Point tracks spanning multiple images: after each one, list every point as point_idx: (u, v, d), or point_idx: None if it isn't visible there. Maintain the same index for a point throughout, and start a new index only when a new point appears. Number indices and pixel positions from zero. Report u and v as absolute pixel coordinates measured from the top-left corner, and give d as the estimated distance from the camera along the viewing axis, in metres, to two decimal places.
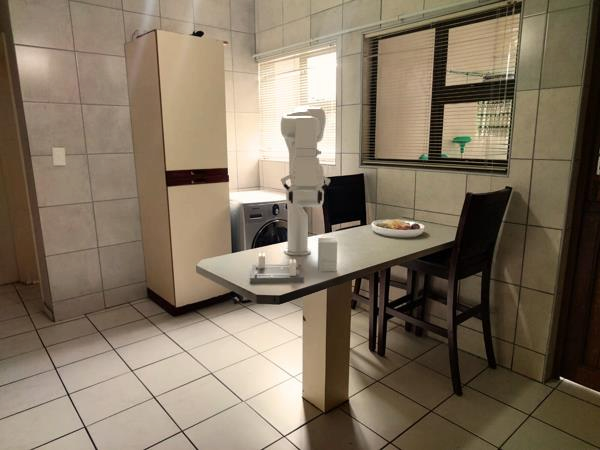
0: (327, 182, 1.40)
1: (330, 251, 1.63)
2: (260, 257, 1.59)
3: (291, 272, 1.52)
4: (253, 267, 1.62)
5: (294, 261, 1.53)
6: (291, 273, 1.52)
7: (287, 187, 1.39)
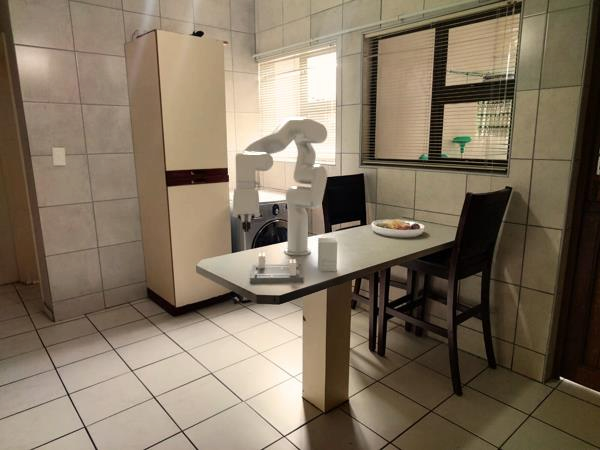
0: (256, 215, 1.57)
1: (330, 251, 1.63)
2: (260, 257, 1.59)
3: (291, 272, 1.52)
4: (253, 267, 1.62)
5: (294, 261, 1.53)
6: (291, 273, 1.52)
7: (241, 218, 1.57)
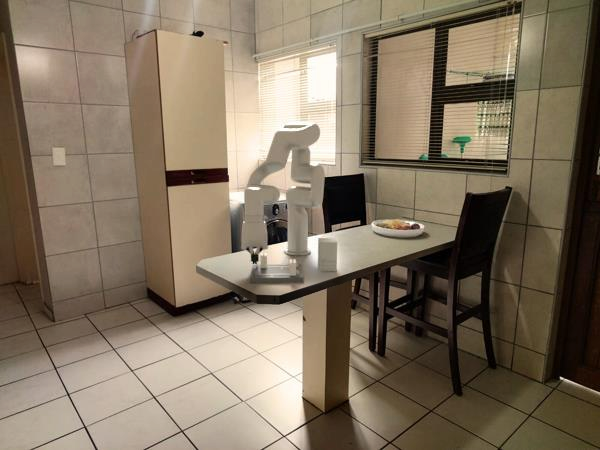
0: (264, 248, 1.60)
1: (330, 251, 1.63)
2: (262, 257, 1.59)
3: (291, 272, 1.52)
4: (253, 267, 1.62)
5: (294, 261, 1.53)
6: (291, 273, 1.52)
7: (249, 250, 1.60)
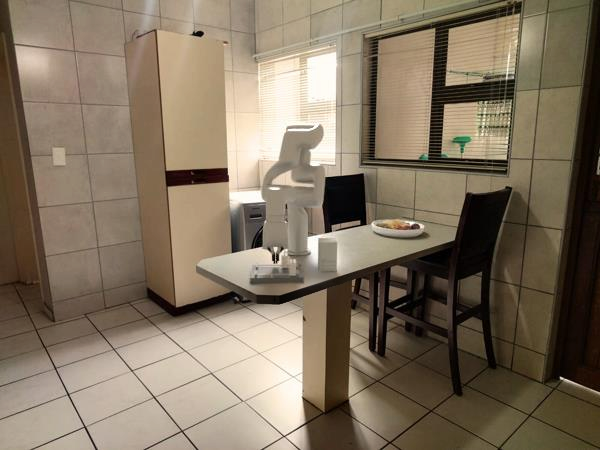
0: (285, 247, 1.61)
1: (330, 251, 1.63)
2: (283, 257, 1.60)
3: (291, 272, 1.52)
4: (253, 267, 1.62)
5: (294, 261, 1.53)
6: (291, 273, 1.52)
7: (270, 250, 1.61)
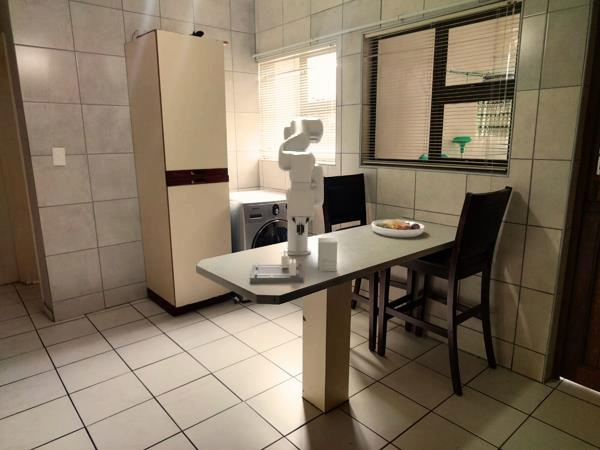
0: (311, 218, 1.51)
1: (330, 251, 1.63)
2: (283, 257, 1.60)
3: (291, 272, 1.52)
4: (253, 267, 1.62)
5: (294, 261, 1.53)
6: (291, 273, 1.52)
7: (295, 220, 1.51)
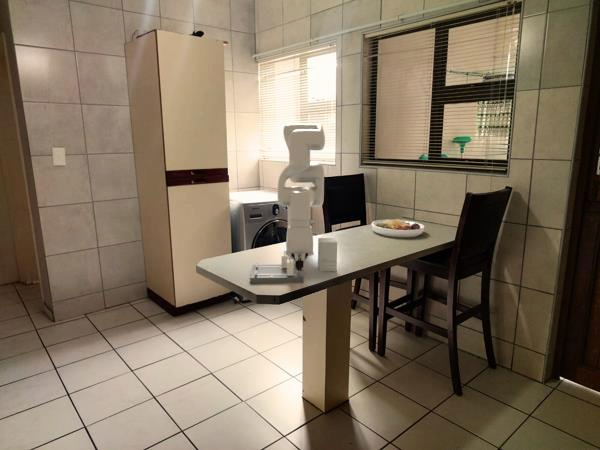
0: (310, 254, 1.53)
1: (330, 251, 1.63)
2: (283, 257, 1.60)
3: (288, 272, 1.52)
4: (253, 267, 1.62)
5: (291, 261, 1.53)
6: (288, 273, 1.52)
7: (294, 256, 1.52)
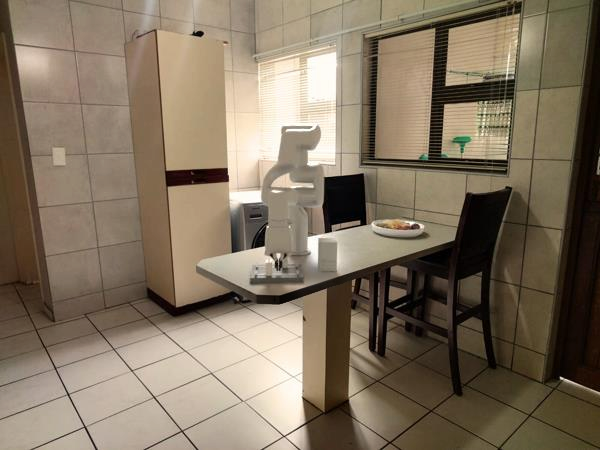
0: (288, 254, 1.52)
1: (330, 251, 1.63)
2: None
3: (267, 272, 1.51)
4: (253, 267, 1.62)
5: (270, 261, 1.52)
6: (267, 273, 1.51)
7: None
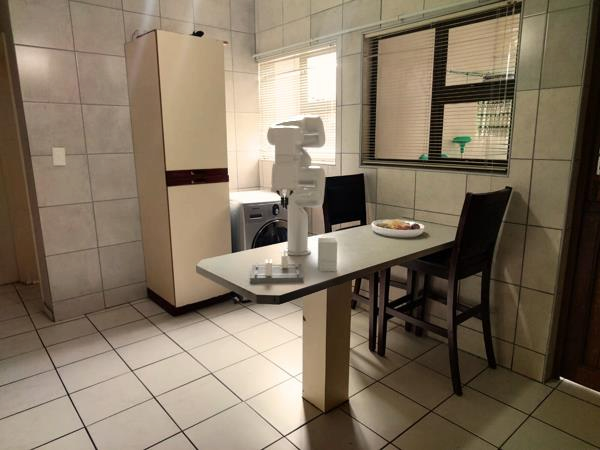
0: (295, 190, 1.55)
1: (330, 251, 1.63)
2: (283, 257, 1.60)
3: (267, 272, 1.51)
4: (253, 267, 1.62)
5: (270, 261, 1.52)
6: (267, 273, 1.51)
7: (279, 193, 1.54)
